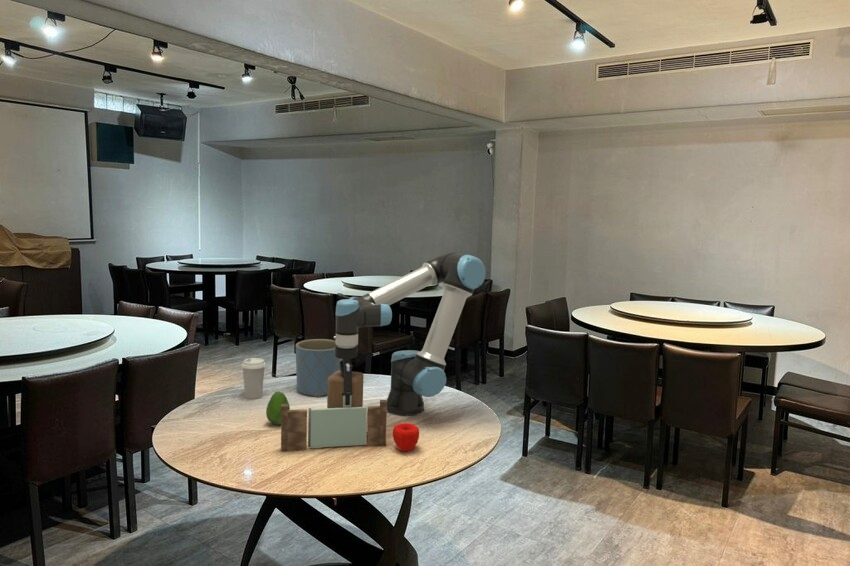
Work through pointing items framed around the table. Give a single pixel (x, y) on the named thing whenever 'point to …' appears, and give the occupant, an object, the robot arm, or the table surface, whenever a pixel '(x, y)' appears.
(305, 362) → the planter
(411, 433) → the apple
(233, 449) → the table surface
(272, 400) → the fruit
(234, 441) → the table surface
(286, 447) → the wall frame
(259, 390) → the coffee cup
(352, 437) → the door
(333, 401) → the wooden block
